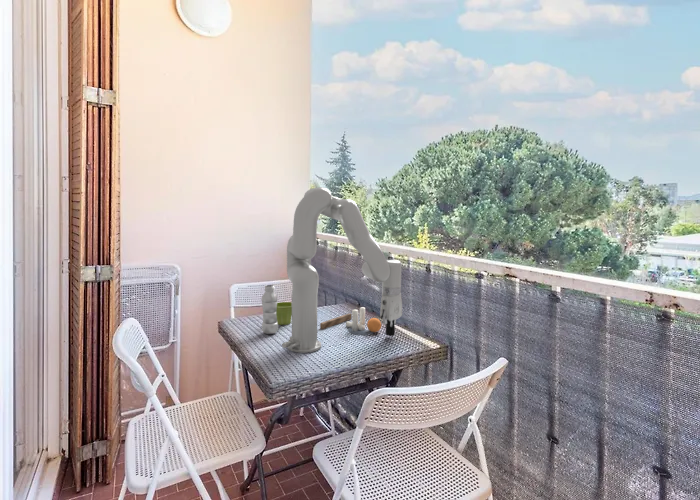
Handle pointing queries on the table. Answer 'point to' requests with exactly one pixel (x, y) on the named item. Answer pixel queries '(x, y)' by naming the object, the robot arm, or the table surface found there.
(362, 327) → the front pin
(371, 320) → the ball
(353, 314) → the pin
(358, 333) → the pin spot mat
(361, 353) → the table surface
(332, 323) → the bar
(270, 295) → the plastic bottle
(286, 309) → the plant pot
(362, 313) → the pin
